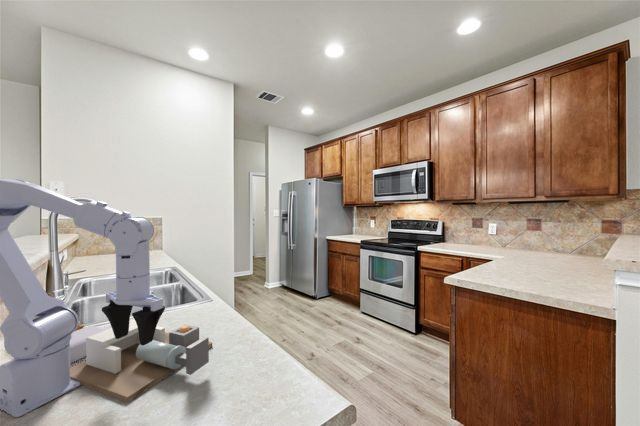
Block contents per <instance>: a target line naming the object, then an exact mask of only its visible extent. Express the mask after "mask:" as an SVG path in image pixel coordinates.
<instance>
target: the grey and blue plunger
mask: <svg viewBox="0 0 640 426" xmlns="http://www.w3.org/2000/svg"><path fill="white" fill-rule="evenodd" d="M209 339H210V337H208V336H207V337H206V336H203V337H202V338H199V340H198V341H196V342H194V343H193V344H191V345H189V346H188V347H186V348H185V347H184V346H180V345H178V346H176V345H172V344H167V343H163V342H159V341H155V340H152V342H150V343H148V344H146V345H141V344H140V345H139V346H138V348H137V350H136V357H137V359H139V360H142V361H146V362H150V363H153V364H157V365H160V366H164V367H167V368H171V369H177V368H179V367H180V366H181V365H183V366H182V367H185V371H186V372H185V375H190V376H191V375H193V374H195V373H196V372H197V371H198V370H199V369H201V368H203V367H204V366H205V365H207V364H208V363H209V362H210V359H209V357H210V355H209V352H210V351H209V349H210V348H209V342H210V341H209ZM180 368H181V367H180ZM180 368H179V369H180ZM177 370H178V369H177Z"/></svg>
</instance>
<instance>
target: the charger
mask: <svg viewBox="0 0 640 426" xmlns="http://www.w3.org/2000/svg"><path fill="white" fill-rule="evenodd" d="M110 328H112V327H111V325H108V326H106V327H105V328H104V327H100V326H99V327H98V326H94V325H91V326H90V325H89V326H84V327H83V328H82V329H80V330H77V331H74V332H73V333H72V334H71V340H70V364H72V363H75V362H76V361H77V362H78V361H79V360H81V359H84V358H85V357H86V338H87V337H89V336H92V335H95V334H97V333H100V332H102V331H105V330H108V329H110Z"/></svg>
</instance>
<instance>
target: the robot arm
mask: <svg viewBox="0 0 640 426" xmlns="http://www.w3.org/2000/svg"><path fill="white" fill-rule="evenodd" d="M108 205H109V204H108V203H107V202H104V201H101V200H100V201H88V202H85V203H81V202H80V201H76V200H75V199H72V198H70V197H67V196H65V195H62V194H60V193H58V192H56V191H53V190H51V189H49V188H46V187H43V186H42V185H40V184H37V183H32V182H28V181H27V180H23V179H10V178H9V179H8V178H0V300H1V301H2V303H3V304H4V306H5V308H6V309H7V311H8V315H7V316H6V318H5V319H4V320H3V322H2V323H1V325H0V331H1V333H2V335H3V346H4V349H5V351H6V353H8V354H9V355H10V356H11V357H13V358H12V359H11V360H9V361H7V362H4V363H3V364H0V409H1V410H0V411H2V410H4V411H6V412H7V413H6V412H5V413H6V414H8V413H9V414H8V415H10V414H11V415H10V416H13V417H14V418H19V417H22V416H23V415H26V414H27V413H30V412H31V411H33V410H35V409H37V408H39V407H42V406H43V405H45V404H47V403H49V402H50V401H53V400H54V399H56V398H59V397H61V396H62V395H64V394H66V393H68V392H70V391H72V390H73V389H76V388H77V387H80V386H82V385H81V382H78V381H75V380H73V379H70V367H71V363H70V340H71V334H72V333H73V332H74V331H75V330H76V328H77V327H78V324H79V322H80V319H79V316H78V314H77V313H76V312H75V311H74V310H73V309H71V308H70V307H68V306H67V305H66V303H65V302H64V301H63V300H62V299H59V298H56V297H54V296H49V295H48V293H47V291H46V290H45V289H44V287H43V285H42V283H41V282H40V280H39V278H38V277H37V275H36V274H35V272H34V270H33V268H32V267H31V265H30V264H29V262H28V260H27V259H26V258H25V255H24V254H23V253H22V250H21V249H20V248H19V246H18V244H17V242H16V240H15V239H14V238H13V236H12V234H11V233H10V230H9V227H10V225H11V224H12V223H14V222H16V220H17V219H18V218H19V217H21V215H22V214H23V213H24V212H26V211H27V210H28V209H29V208H30V207H31V206H33V207H36V208H39V209H42V210H46V211H48V212H52V213H55V214H58V215H60V216H64V217H67V218H70V219H72V221H73V224H74V225H75V227H77V228H78V229H82V230H85V231H87V232H91V233H94V235H95V234H96V235H98V236H102V237H104V238H107V239H109V240H110V242H111V243H112V245H114V248H115V249H114V251H115V275H116V276H115V291H111V292H107V293H105V303H107V304H108V305H106V306H103V307H102V308H101V311H102V313H103V314H104V315H105V316H106V318H107V320H108V321H109V323H110V326H111V327H112V330H113V333H114V336H115V338H116V339H119V338H122V337H124V336H126V335H128V331H129V321H131V320H130V319H131V316H132V317H133V320H134V319H135V321H136V324H137V327H138V332H139V341H140V344H141V345H146V344H148V343H150V342H152V340H153V337H154V333H155V329H156V326H158V323H159V320H160V318H161V317H162V315H163V313H164V312H165V309H166V306H164V299H163V298H161V297H158V296H157V295H154V294H155V291H154V290H151V289H150V288H151V287H150V281H151V280H150V269H151V268H150V267H151V266H150V240H151V239H152V238H153V237H154V234H155V228H154V225H153V224H152V221H150V220H148V219H147V218H146V217H144V216H135V217H132V216H131V213H130V212H128V211H119V210H117V209H114V208H111V207H109V206H108ZM133 307H136V308H137V307H138V308H142V309H140V310H138V311H135V312H132V309H133ZM35 317H37V318H35ZM4 411H3V412H4Z"/></svg>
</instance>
